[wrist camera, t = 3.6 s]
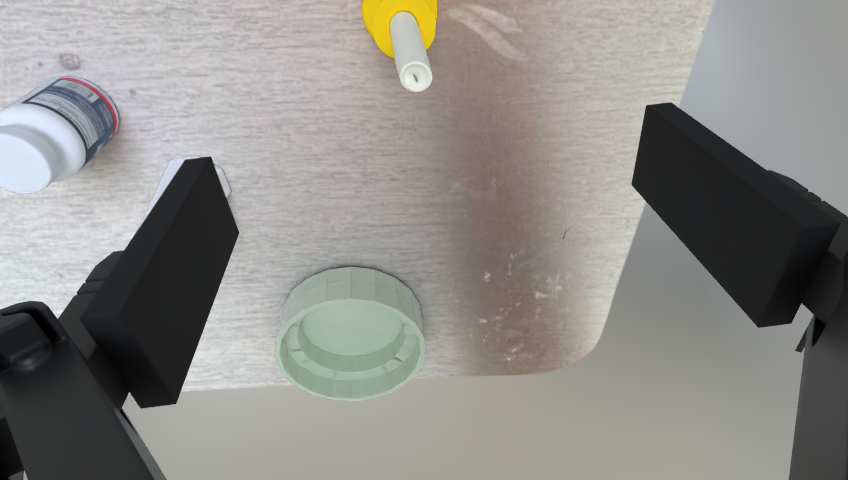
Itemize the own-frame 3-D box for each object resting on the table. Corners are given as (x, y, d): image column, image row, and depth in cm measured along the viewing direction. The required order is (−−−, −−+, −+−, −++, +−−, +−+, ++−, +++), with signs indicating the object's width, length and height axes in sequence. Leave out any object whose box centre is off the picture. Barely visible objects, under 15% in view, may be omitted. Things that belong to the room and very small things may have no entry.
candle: (408, 63, 37) (429, 156, 24) (347, 19, 34) (335, 96, 22) (452, -1, 34) (500, 65, 22) (389, -52, 32) (402, -11, 20)
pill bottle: (72, 151, 38) (4, 213, 31) (23, 87, 35) (-66, 139, 28) (135, 132, 38) (81, 190, 30) (91, 65, 35) (18, 112, 27)
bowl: (414, 255, 47) (418, 290, 43) (425, 354, 55) (430, 391, 51) (266, 273, 47) (256, 310, 42) (300, 370, 55) (294, 409, 51)
